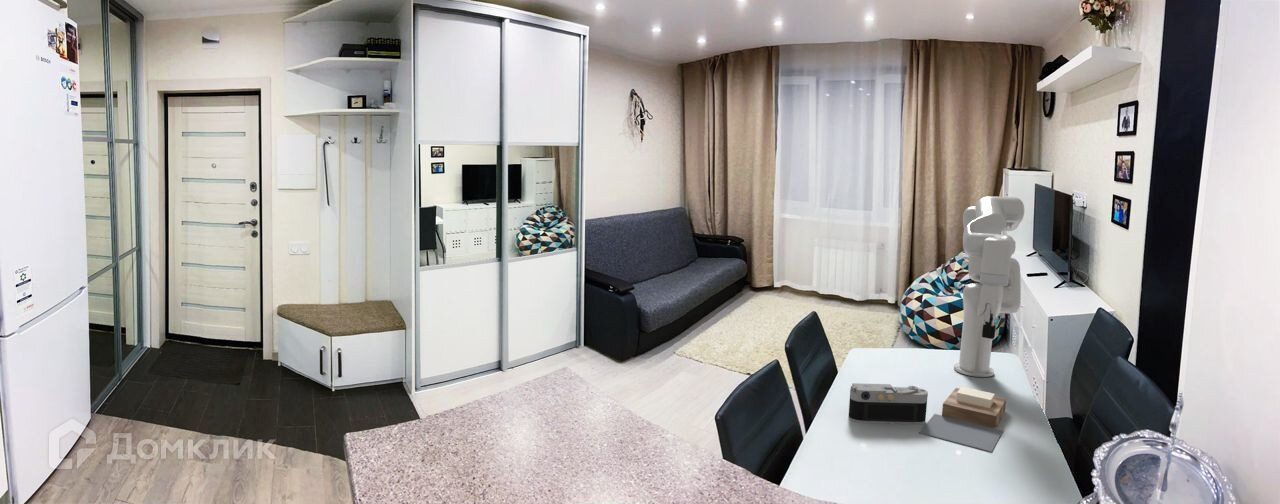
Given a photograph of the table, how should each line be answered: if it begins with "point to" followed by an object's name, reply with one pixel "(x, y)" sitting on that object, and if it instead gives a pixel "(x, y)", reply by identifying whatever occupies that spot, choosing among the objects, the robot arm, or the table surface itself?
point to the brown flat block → (974, 411)
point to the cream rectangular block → (975, 397)
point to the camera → (887, 404)
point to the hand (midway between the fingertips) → (988, 337)
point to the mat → (962, 432)
